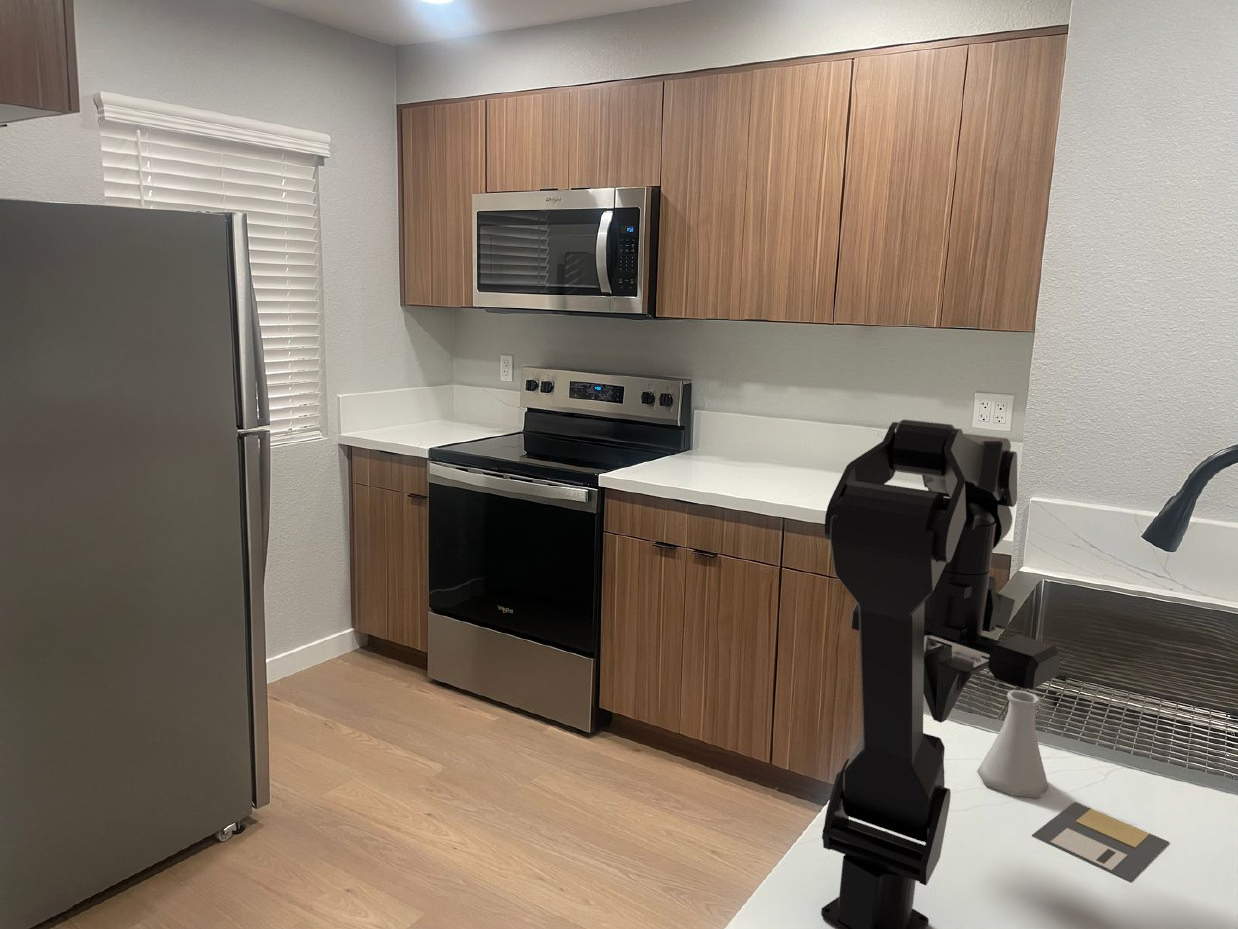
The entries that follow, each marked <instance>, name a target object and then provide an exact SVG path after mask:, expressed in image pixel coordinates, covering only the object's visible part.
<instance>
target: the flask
mask: <svg viewBox="0 0 1238 929" xmlns="http://www.w3.org/2000/svg"><path fill="white" fill-rule="evenodd" d="M1006 696H1007V699H1008V701H1009V702H1008V709H1007V714H1006V716H1005V719H1004V721H1003V725H1002V727H1001V729H1000V731H999V733H998V734H997V736H996V737H995V739H994V742H993V743H992V745H991V747H990V748H989V749H988V752H986V755H985V756H984V758H983V760H982V761H981V763H980V765H979V767H978V768H977V770H976V772H977V774H978V775H979V778H980V779H981V781H982V783H983V784H984V785H985V786H987V787H990V788H993V789H995V790H997V791H1000V792H1003V793H1005V794H1008V795H1011V796H1015V797H1016V796H1018V797H1019V796H1020V797H1027V798H1037V799H1038V798H1042V796H1043V795H1044V793H1045V792H1046V791H1047V790H1048V789H1049V785H1048V778H1047V776H1046V772H1045V768H1044V764H1043V761H1042V756H1041V751H1040V747H1039V743H1038V737H1037V734H1036V708H1037V706H1039V704H1040V702H1041V700H1040V698H1039V697H1038V696H1037V695H1036V693H1035V694H1034V693H1032V692H1028V691H1025V690H1019V689H1018V690H1014V689H1011V690H1009V691H1008V692H1007V695H1006Z"/></svg>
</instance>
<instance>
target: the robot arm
mask: <svg viewBox="0 0 1238 929" xmlns="http://www.w3.org/2000/svg"><path fill="white" fill-rule="evenodd" d="M1011 447H1012V445H1011V440H1010V439H1008V438H1006V437H997V436H989V435H980V434H979V435H978V434H970V433H964V431H963V430H962V428H955V426H954V425H953V424H951V423H940V422H932V421H931V422H930V421H925V420H924V421H922V420H913V419H902V420H900V421H894V422H893V421H892V422H891V424H890V425H889V428H888V429H887V432H886V433H885V436H884V438H883V440H882V441H880V442H879V443H878V444H876V445H875V446H873V447H871V449H869V450H867V451H865V452H864V453H863V454H861V455H859V456H857V457H856V458H855V459H853V460H852V461H850V462H849V463H848V464H847V465H846V467H845V469H844V471H843V472H842V475H841V476H840V479H839V481H838V483H837V485H836V486H835V489H834V491H833V493H832V495H831V498H830V499H829V502H828V505H827V508H826V512H825V518H824V534H825V538H826V540H827V541H829V543H830V552H831V559H832V565H833V572H834V574H835V576H836V577H837V579H839V581H840V583H841V584H842V585H843V586H844V587H845V589H846V590H847V591H848V592H849V594H851V596H852V597H853V599H854V600H855V601H856V603H855V605H854V606H853V608H852V609H851V614H850V625H849V626H850V628H851V629H853V630H855V631H857V632H859V660H860V661H859V663H860V668H859V669H860V691H861V692H860V694H861V695H860V696H861V722H862V724H861V727H862V730H861V731H862V733H861V734H860V736H859V737H858V738H859V739H858V741H857V742H856V745H855V747H854V749H853V751H852V753H851V755H850V756H849V757H848V758H847V759H846V760H845V762H844V764H843V766H842V768H841V770H840V771H838V772H837V773H836V775H835V779H834V782H833V786H832V790H831V793H830V798H829V801H828V805H827V807H826V813H825V819H824V823H823V824H824V826H823V828H822V836H821V838H822V847H823V848H824V849H826V850H829V851H830V850H831V851H835V852H837V853H840V854H842V855H843V857H842V863H841V864H842V865H841V874H840V885H839V896H837V897H836V898H835V899H833V900H832V901H830V902H829V903H828V904H826V905H824V906H823V907H821V911H820V915H821V916H822V917H823V918H824V919H825V920H827V921H829V923H831V924H833V925H834V926H836V927H838V928H840V929H926V928H927V927H928V926H929V923H930V922H929V917H927V916H926V915H925V914H923V913H921V912H920V911H918V910H916V909H914V908H913V907H914V906H913V905H914V900H915V891H916V883H917V882H918V883H919V884H921V885H924V886H927V885H928V883H929V881H930V878H931V877H932V875H933V873H934V871H935V869H936V867H937V865H938V862H939V861H940V858H941V853H942V850H943V849H942V848H943V843H944V837H945V832H946V826H947V821H948V816H949V809H950V803H951V795H952V793H951V789H950V788H948V787H946V786H945V783H946V782H945V763H944V760H945V748H946V747H945V745H944V743H943V741H942V739H941V738H940V737H939V736H935V735H931V734H927V733H925V732H924V699H925V701H926V703H927V707H928V709H929V711H930V714H931V718H932V719H933V721H935V722H938V723H939V724H942V723H943V722H945V721H946V720H947V719H948V717H949V715H950V713H951V712H952V710H953V708H954V707H955V704H956V703H957V701H958V699H959V697H960V696H961V693H962V692H963V690H964V688H965V687H966V685H967V683H968V682H969V681H970V679H972V677H973V676H974V675H976V674H977V673H979V672H981V671H984V670H985V669H988V670H989V671H990V673H991V675H992V676H993V677H994V678H995V679H996V680H999V681H1002V682H1003V683H1004V682H1005V683H1008V684H1010V685H1013V686H1015V687H1019V688H1022V689H1026V690H1028V689H1029V690H1034V689H1036V688H1037V687H1039V686H1041V685H1043V684H1045V683H1046V682H1049V681H1051V680H1053V679H1054V678H1056V677H1058V676H1059V672H1060V667H1061V666H1060V663H1061V656H1060V655H1059V654H1060V653H1059V651H1058V650H1057V648H1056V646H1055V645H1054V644H1050V643H1047V642H1045V641H1041V640H1039V639H1034V638H1031V637H1028V636H1025V635H1021V634H1016V635H1013V636H1011V637H1008V638H1006V639H1004V640H1002V641H1001V640H997V639H994V638H991V637H988V636H985V635H983V632H988V633H990V632H993V631H995V630H996V628H998V629H1002V630H1005V631H1007V630H1008V627H1009V624H1010V620H1011V617H1012V613H1013V611H1014V610H1013V609H1014V606H1015V602H1016V600H1015V599H1013V598H1012V597H1008V596H1006V595H1003V594H1001V593H998V592H996V586H997V582H996V577H993V576H990V574H991V567H992V566H991V565H992V558H993V550H994V549H995V548H996V547H997V546H998V545H999V544H1000V542H1001V541H1002V540H1003V539H1005V537H1006V536H1007V535H1008V533H1009V532H1010V530H1011V527H1012V524H1013V515H1012V512H1011V511H1012V510H1011V508H1013V507H1015V505H1017V502H1018V453H1017V451H1011V449H1012V448H1011ZM896 472H897V473H903V474H904V473H905V474H911V475H912V474H913V475H919V476H921V477H922V481H923V486H924V488H927V489H919V488H912V487H905V486H899V485H893V484H886V483H888V482H890V481H891V480H892V479H893V477H894V476H895V473H896ZM1010 507H1011V508H1010ZM849 818H852V819H855V820H857V821H855V820H852V819H849ZM858 821H862V822H864V823H862V822H858ZM865 823H866V824H865ZM870 825H873V826H876V827H878V828H875V827H873V826H870ZM879 828H881V829H879ZM882 829H885V831H884V830H882ZM886 830H887V831H886ZM889 831H890V832H893V833H896V834H899V835H902V836H904V837H902V836H899V835H896V834H893V833H890V832H889ZM906 837H907V838H906ZM908 838H910V839H913V840H910V839H908ZM915 840H916V841H915ZM917 841H919V842H921V843H919V842H917ZM922 843H925V844H922Z"/></svg>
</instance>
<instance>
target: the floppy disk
mask: <svg viewBox="0 0 1238 929" xmlns="http://www.w3.org/2000/svg"><path fill="white" fill-rule="evenodd" d="M1031 836H1032V837H1034V838H1036V839H1038V840H1040V841H1043V842H1045V843H1046V844H1048V845H1051V846H1053V847H1055V848H1057V849H1060V850H1061V851H1063V852H1066V853H1067V854H1070V855H1073V857H1074V856H1075V857H1076V858H1079V859H1081V860H1083V861H1085V862H1087V863H1090V864H1091V865H1094V866H1095V867H1096V866H1097V867H1098V868H1100V869H1102V870H1105V871H1106V872H1109V873H1111V874H1113V875H1115V876H1117V877H1119V878H1122V879H1123V880H1126V881H1128V882H1131V881H1133V879H1134V878H1135V877H1137V875H1139V874H1140V872H1141V871H1142V870H1144V868H1145V867H1147V865H1149V863H1151V861H1153V859H1154V858H1155V857H1157V855H1158V854H1159V853H1161V851H1162V850H1163V849H1164V848H1165V847H1166V846H1167V845H1168V844H1169V843H1170V841H1169V840H1167V839H1164V838H1161V837H1159V836H1157V835H1155V834H1151V833H1150V832H1147V831H1145V830H1143V829H1140V828H1138V827H1135V826H1133V825H1131V824H1128V823H1126V822H1124V821H1122V820H1119V819H1117V818H1115V817H1112V816H1109V815H1108V814H1105V813H1103V812H1100V811H1098V810H1097V809H1093V808H1091V807H1088V806H1086V805H1083V804H1082V803H1079V802H1077V801H1073V802H1072V803H1071V804H1070V805H1069V806H1067V807H1065V809H1063V810H1062V811H1060V812H1059V813H1058V814H1057V815H1056V816H1054V817H1053V818H1052V819H1051V820H1049V821H1048V822H1047V823H1045V824H1044V825H1043V826H1041V827H1040V828H1039V829H1037V831H1035V832H1034V833H1033V834H1032V835H1031Z"/></svg>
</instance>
